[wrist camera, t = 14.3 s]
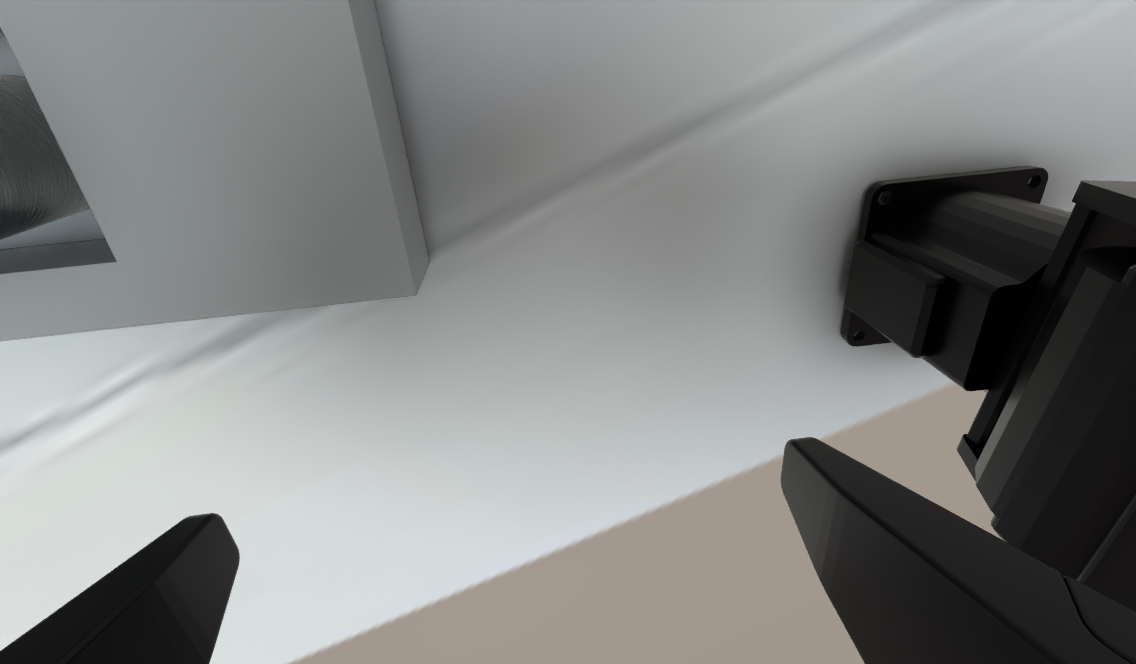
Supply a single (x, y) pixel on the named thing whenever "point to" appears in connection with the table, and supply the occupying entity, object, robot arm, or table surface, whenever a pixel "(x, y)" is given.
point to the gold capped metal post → (31, 164)
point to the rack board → (214, 162)
